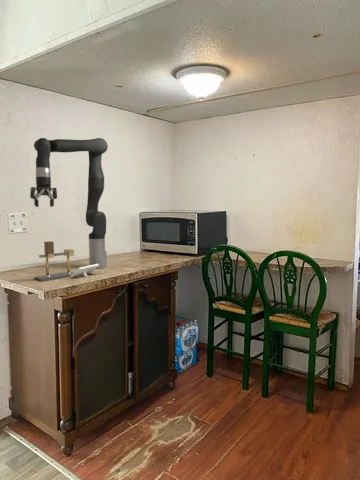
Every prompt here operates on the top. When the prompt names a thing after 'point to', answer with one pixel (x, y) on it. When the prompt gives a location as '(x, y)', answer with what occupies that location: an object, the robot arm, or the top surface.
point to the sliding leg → (48, 253)
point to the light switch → (84, 270)
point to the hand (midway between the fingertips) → (44, 206)
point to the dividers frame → (66, 253)
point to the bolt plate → (53, 276)
